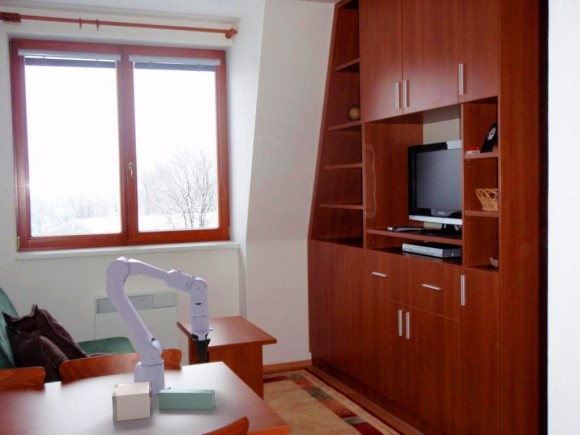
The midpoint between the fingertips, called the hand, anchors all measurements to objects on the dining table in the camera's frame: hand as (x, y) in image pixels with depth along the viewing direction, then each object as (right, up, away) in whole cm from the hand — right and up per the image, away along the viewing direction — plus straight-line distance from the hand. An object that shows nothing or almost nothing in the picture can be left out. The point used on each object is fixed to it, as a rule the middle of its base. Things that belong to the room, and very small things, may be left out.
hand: (201, 357), depth 204 cm
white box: (-17, -11, -22) cm, 30 cm away
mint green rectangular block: (-2, -11, -19) cm, 22 cm away
